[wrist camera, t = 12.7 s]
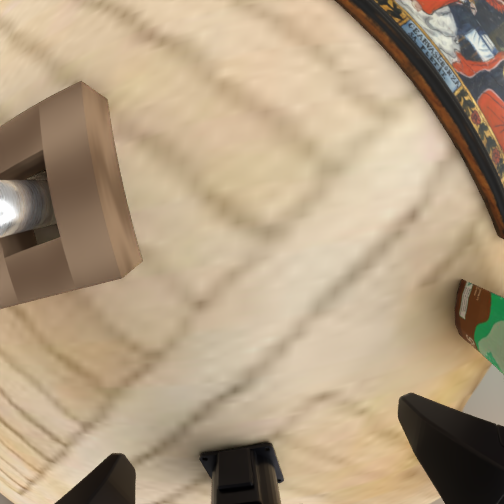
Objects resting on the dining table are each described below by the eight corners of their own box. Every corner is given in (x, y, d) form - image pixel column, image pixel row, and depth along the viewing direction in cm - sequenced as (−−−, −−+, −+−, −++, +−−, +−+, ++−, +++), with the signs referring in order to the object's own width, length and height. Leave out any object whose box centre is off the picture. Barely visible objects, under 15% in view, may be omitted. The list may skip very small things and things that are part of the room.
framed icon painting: (422, -95, 11) (430, -104, 8) (572, 82, 18) (583, 80, 15) (239, -25, 15) (241, -46, 13) (505, 265, 22) (524, 272, 19)
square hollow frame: (142, 261, 18) (121, 278, 14) (24, 293, 18) (-7, 310, 14) (107, 99, 16) (80, 80, 12) (-6, 158, 16) (-39, 156, 12)
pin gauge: (75, 217, 17) (-2, 234, 10) (43, 229, 17) (-34, 250, 10) (66, 174, 17) (-13, 170, 9) (34, 188, 17) (-44, 193, 9)
